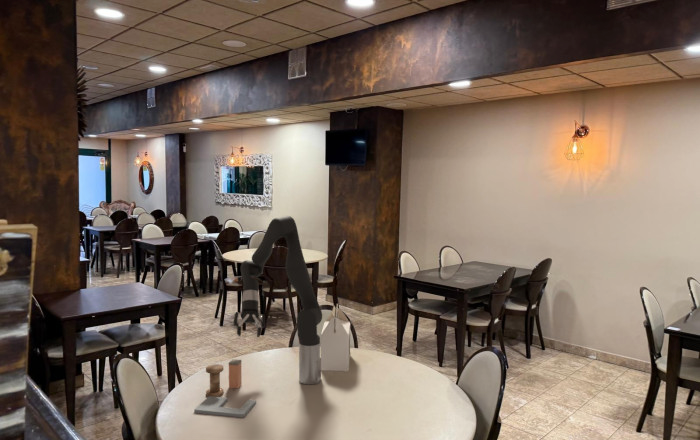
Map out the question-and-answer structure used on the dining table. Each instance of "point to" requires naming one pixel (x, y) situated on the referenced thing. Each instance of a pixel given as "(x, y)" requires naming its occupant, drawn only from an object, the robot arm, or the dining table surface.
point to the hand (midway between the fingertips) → (248, 336)
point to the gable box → (335, 342)
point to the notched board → (215, 407)
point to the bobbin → (214, 380)
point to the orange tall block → (235, 373)
